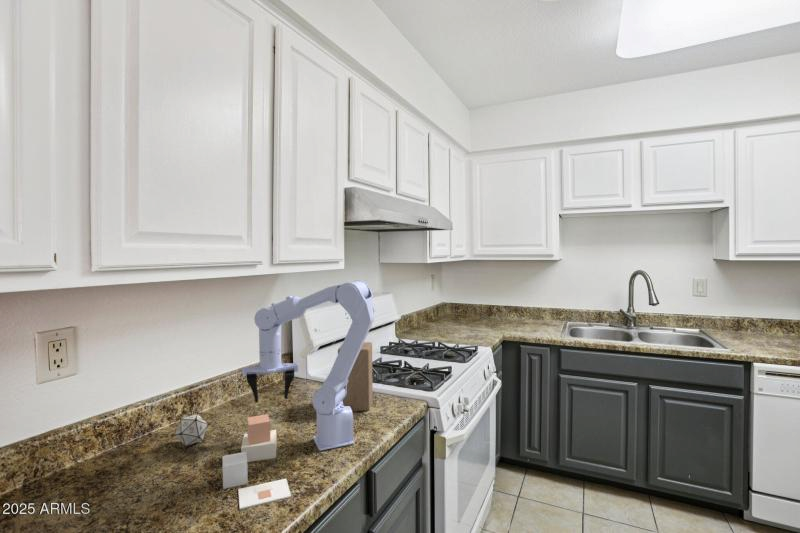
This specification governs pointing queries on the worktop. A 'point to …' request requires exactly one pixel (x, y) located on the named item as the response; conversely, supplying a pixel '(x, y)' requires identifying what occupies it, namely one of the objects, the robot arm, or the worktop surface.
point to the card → (263, 493)
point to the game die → (191, 429)
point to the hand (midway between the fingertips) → (271, 399)
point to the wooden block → (360, 381)
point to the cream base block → (260, 448)
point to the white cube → (235, 470)
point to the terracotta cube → (258, 429)
